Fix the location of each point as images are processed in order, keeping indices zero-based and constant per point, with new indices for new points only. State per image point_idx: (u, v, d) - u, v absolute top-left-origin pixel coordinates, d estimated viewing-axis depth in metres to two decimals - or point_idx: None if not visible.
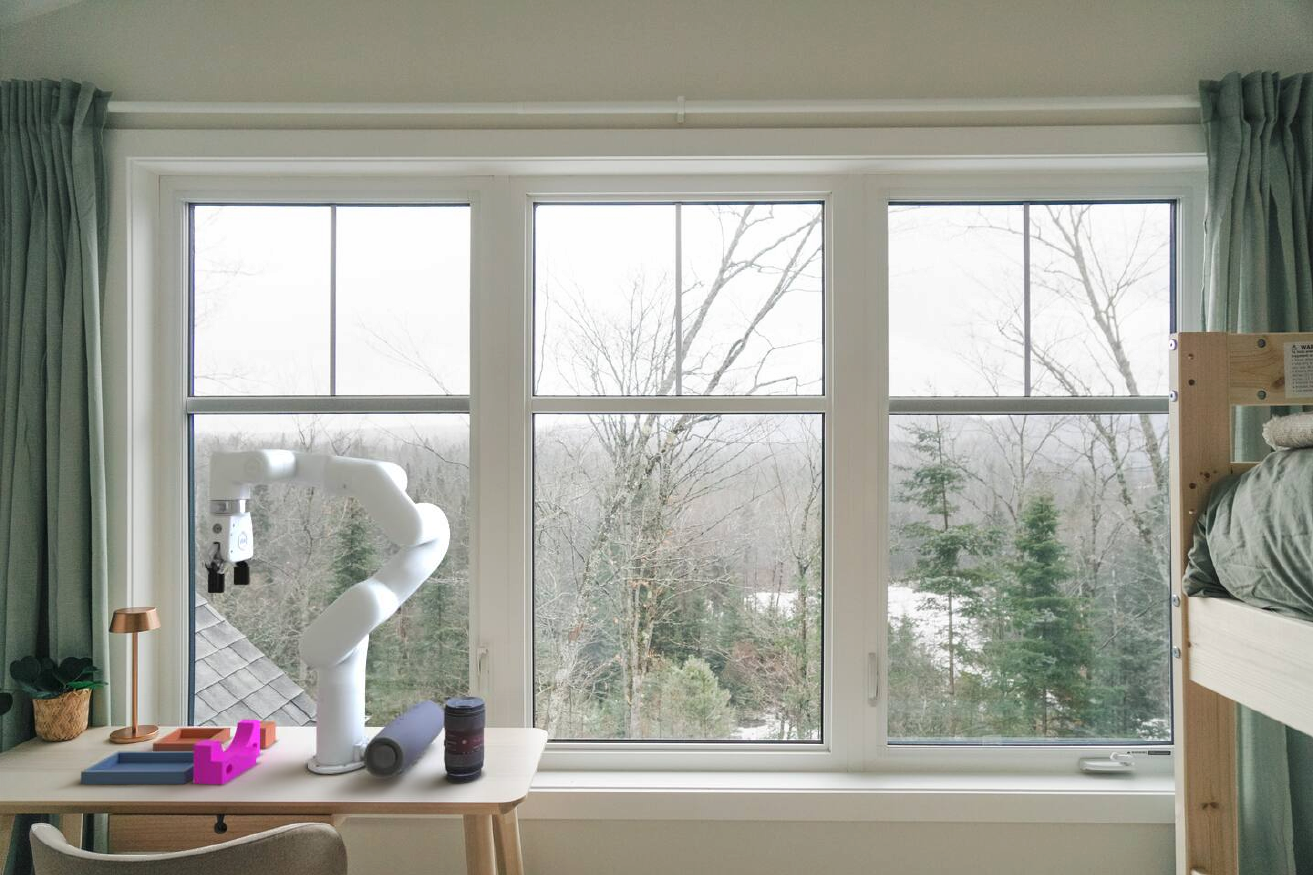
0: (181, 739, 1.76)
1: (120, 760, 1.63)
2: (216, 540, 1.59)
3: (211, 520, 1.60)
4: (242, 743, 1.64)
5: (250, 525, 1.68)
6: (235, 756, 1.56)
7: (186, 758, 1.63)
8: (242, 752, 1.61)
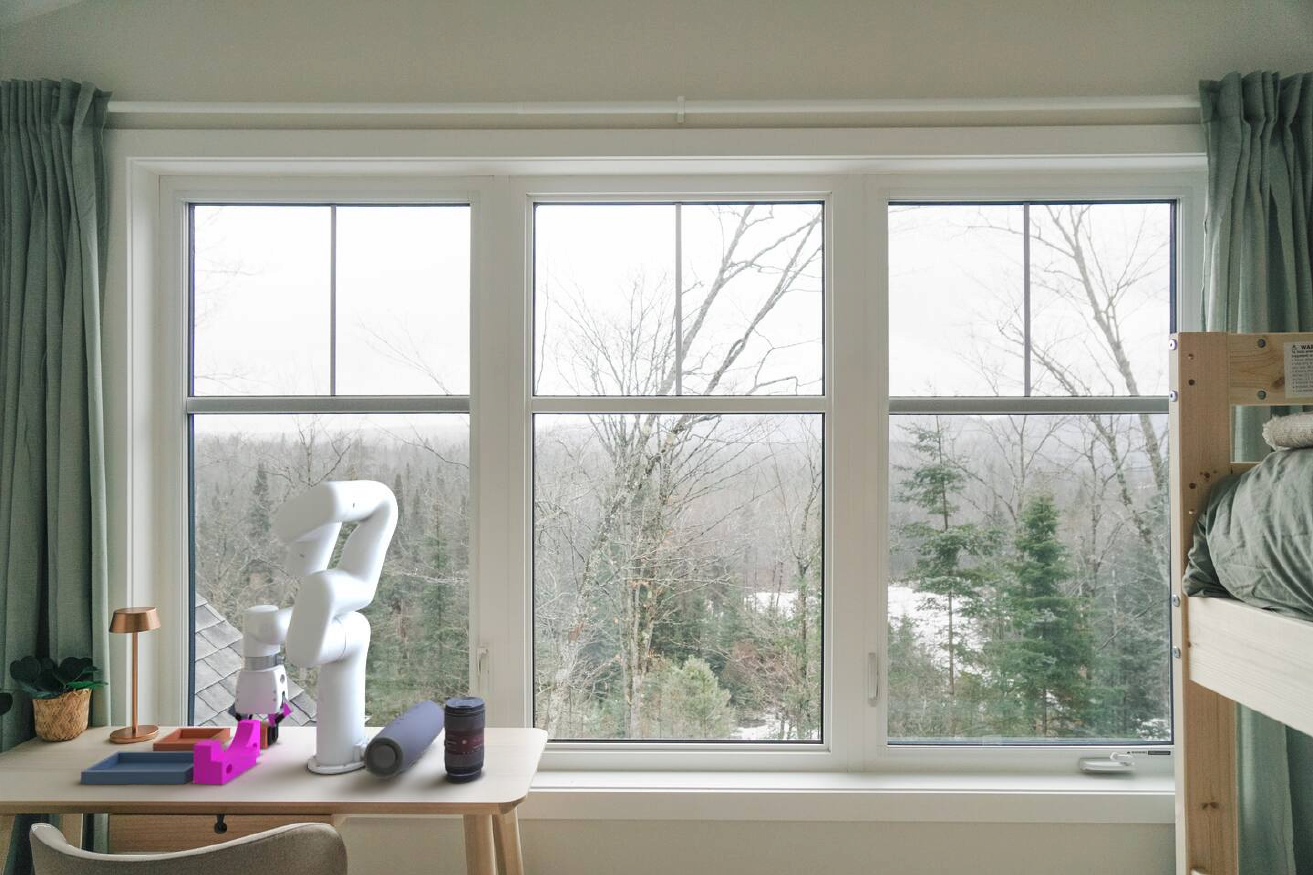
0: (181, 739, 1.76)
1: (120, 760, 1.63)
2: (283, 689, 1.74)
3: (276, 673, 1.72)
4: (242, 743, 1.64)
5: None
6: (235, 756, 1.56)
7: (186, 758, 1.63)
8: (242, 752, 1.61)
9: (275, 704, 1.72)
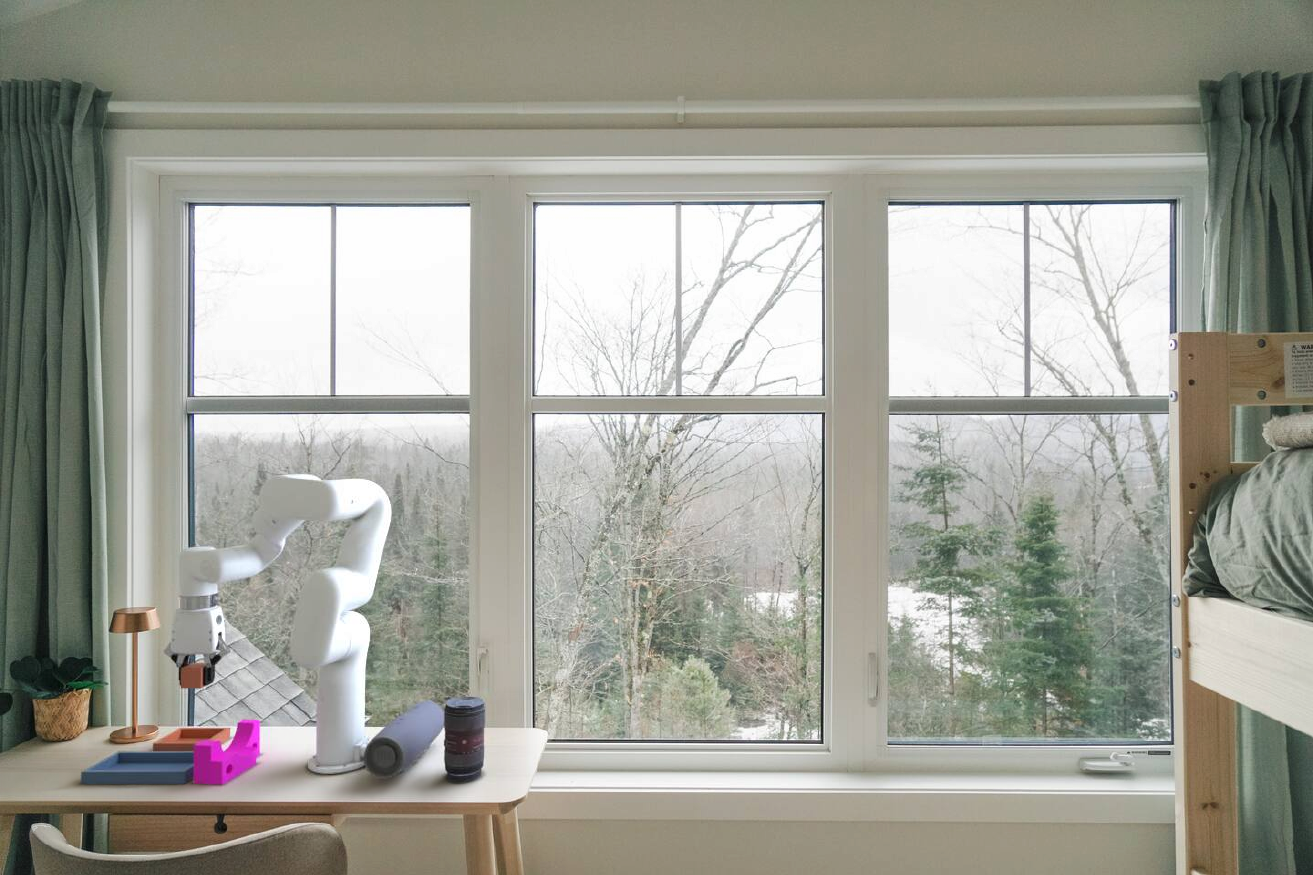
0: (181, 739, 1.76)
1: (120, 760, 1.63)
2: (220, 630, 1.73)
3: (212, 613, 1.72)
4: (242, 743, 1.64)
5: None
6: (235, 756, 1.56)
7: (186, 758, 1.63)
8: (242, 752, 1.61)
9: (211, 644, 1.71)
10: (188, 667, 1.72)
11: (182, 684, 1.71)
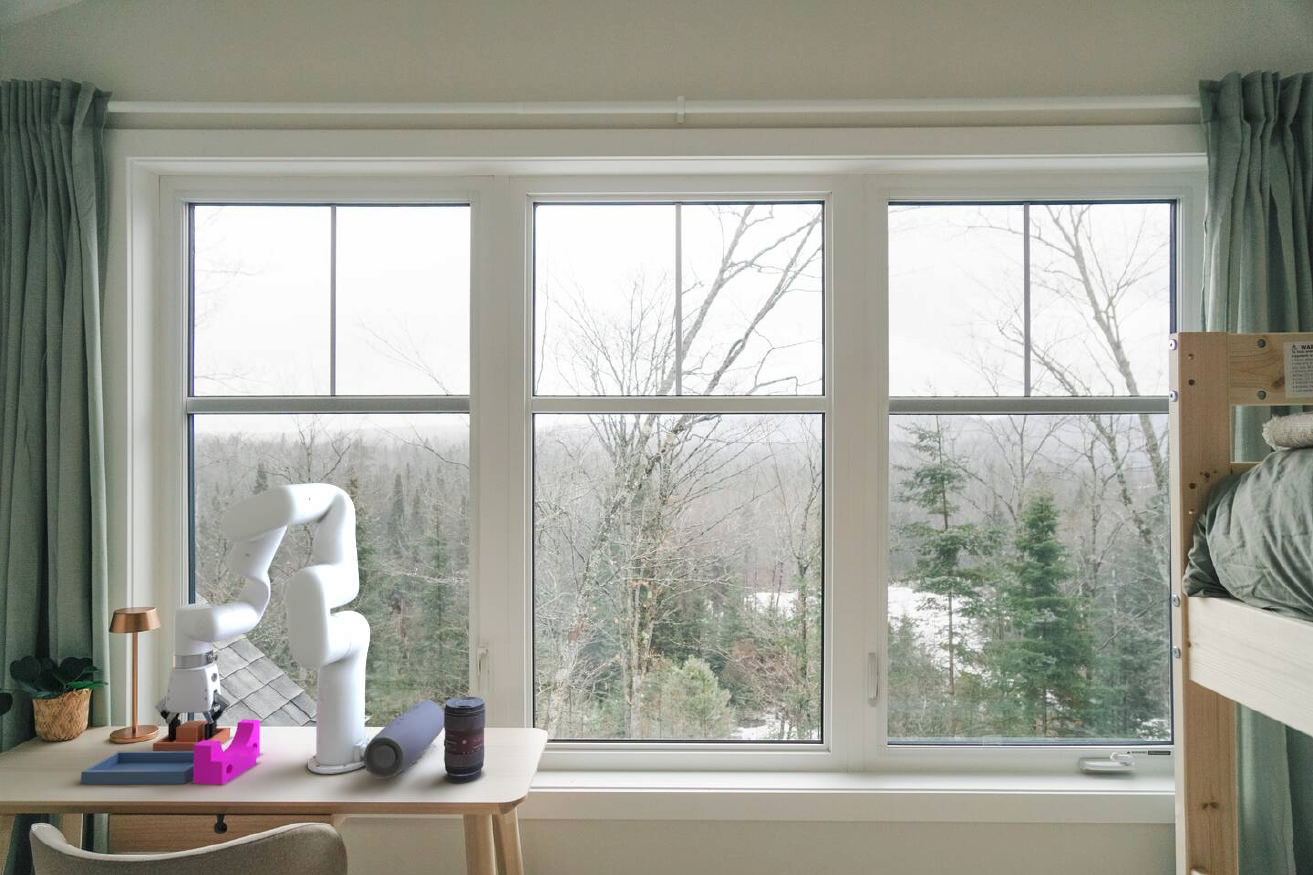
0: None
1: (120, 760, 1.63)
2: (215, 688, 1.73)
3: (208, 672, 1.72)
4: (242, 743, 1.64)
5: None
6: (235, 756, 1.56)
7: (186, 758, 1.63)
8: (242, 752, 1.61)
9: (206, 703, 1.71)
10: (183, 726, 1.71)
11: None
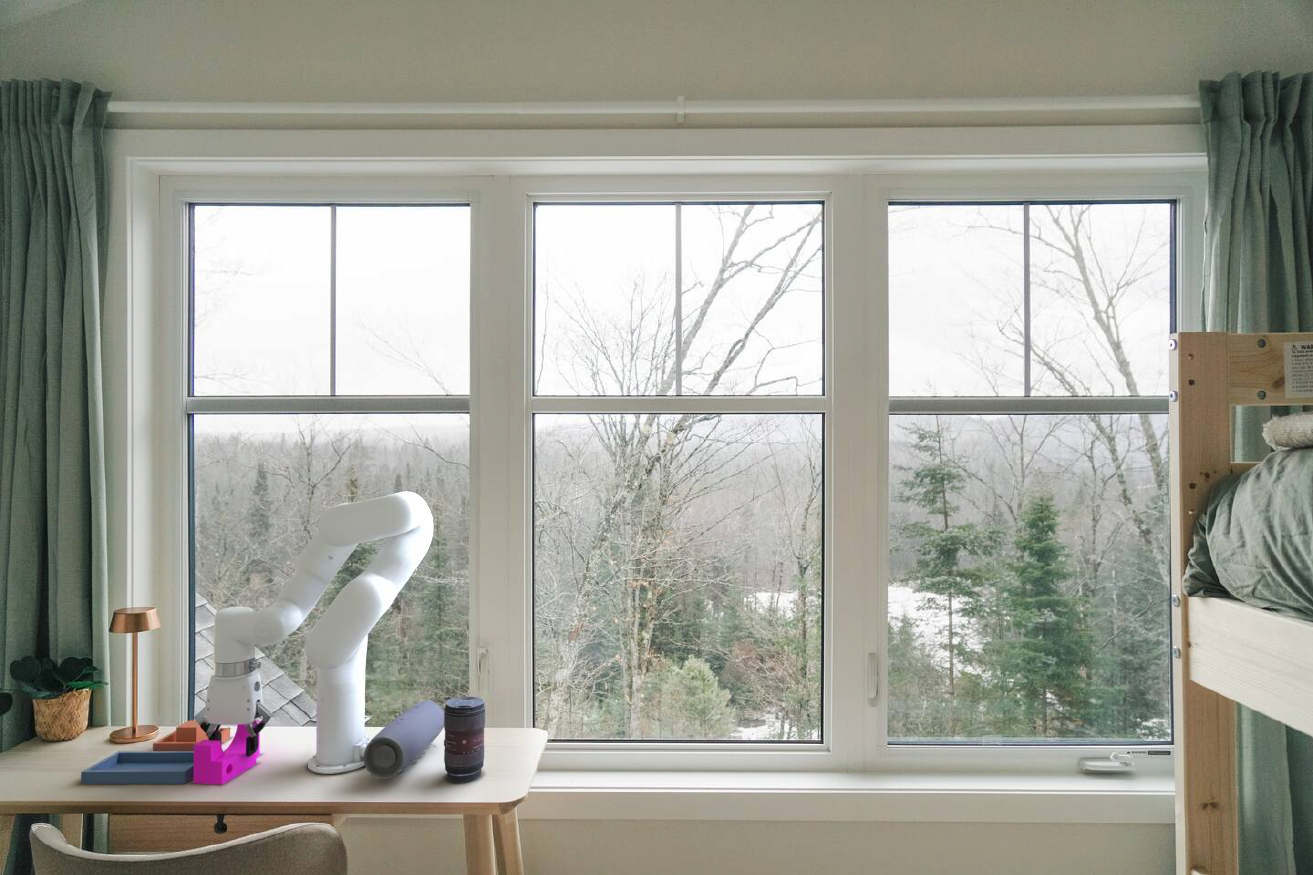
0: None
1: (120, 760, 1.63)
2: (258, 698, 1.61)
3: (250, 680, 1.59)
4: (242, 743, 1.64)
5: None
6: (235, 756, 1.56)
7: (186, 758, 1.63)
8: (242, 752, 1.61)
9: (249, 714, 1.59)
10: (183, 726, 1.71)
11: None
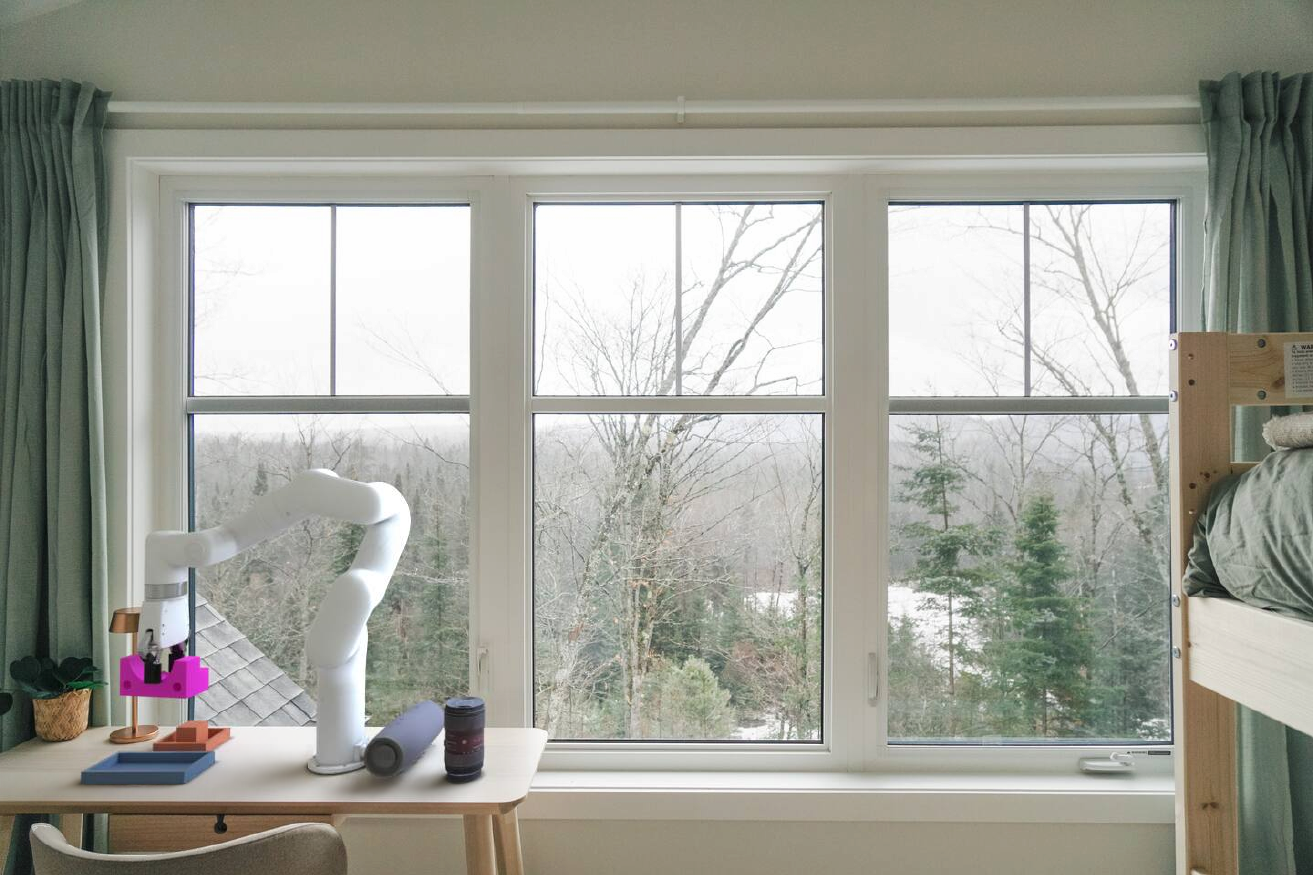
0: None
1: (120, 760, 1.63)
2: None
3: None
4: None
5: None
6: None
7: (186, 758, 1.63)
8: (165, 676, 1.60)
9: (187, 630, 1.63)
10: (183, 726, 1.71)
11: None
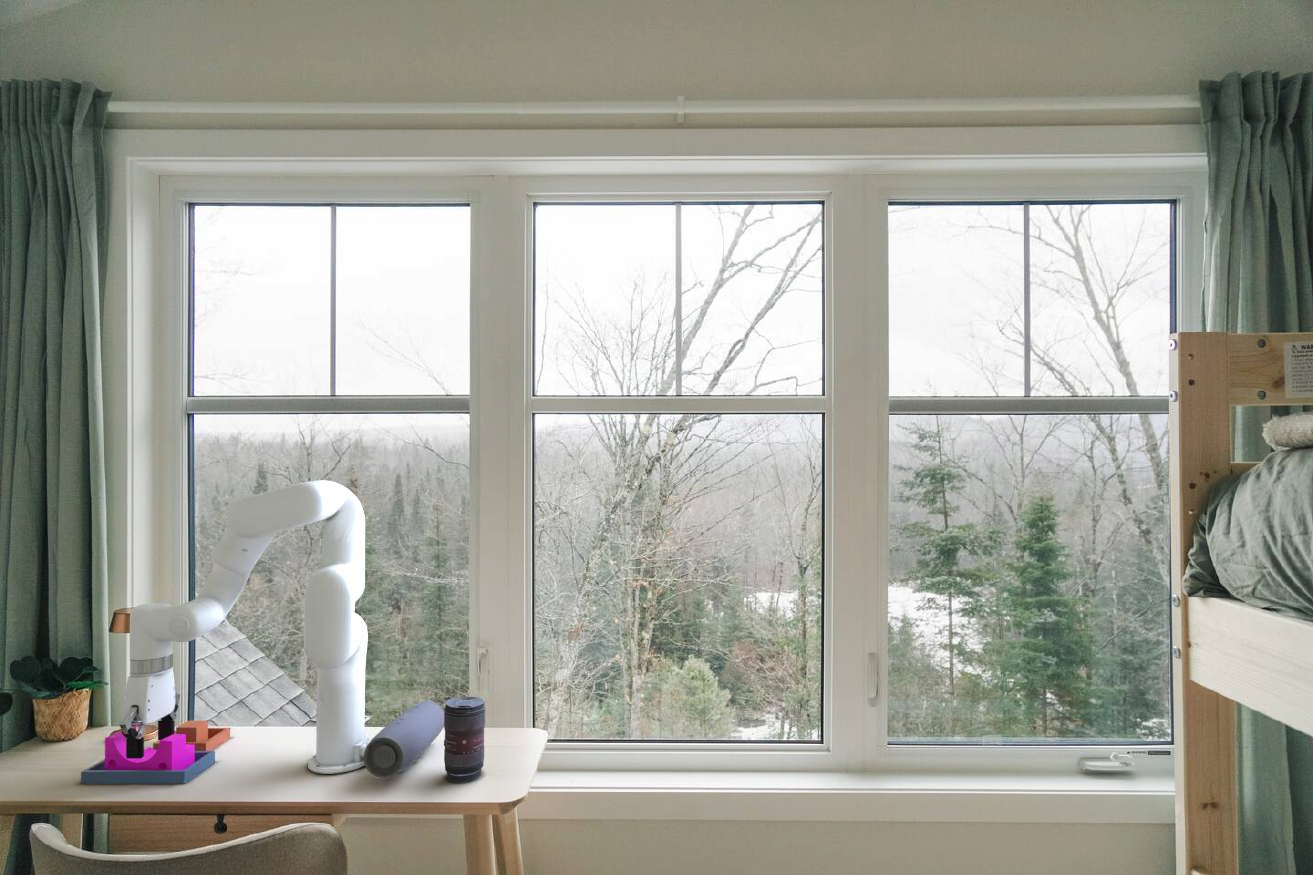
0: None
1: None
2: None
3: None
4: None
5: None
6: None
7: None
8: (150, 753, 1.60)
9: (173, 702, 1.63)
10: (183, 726, 1.71)
11: None
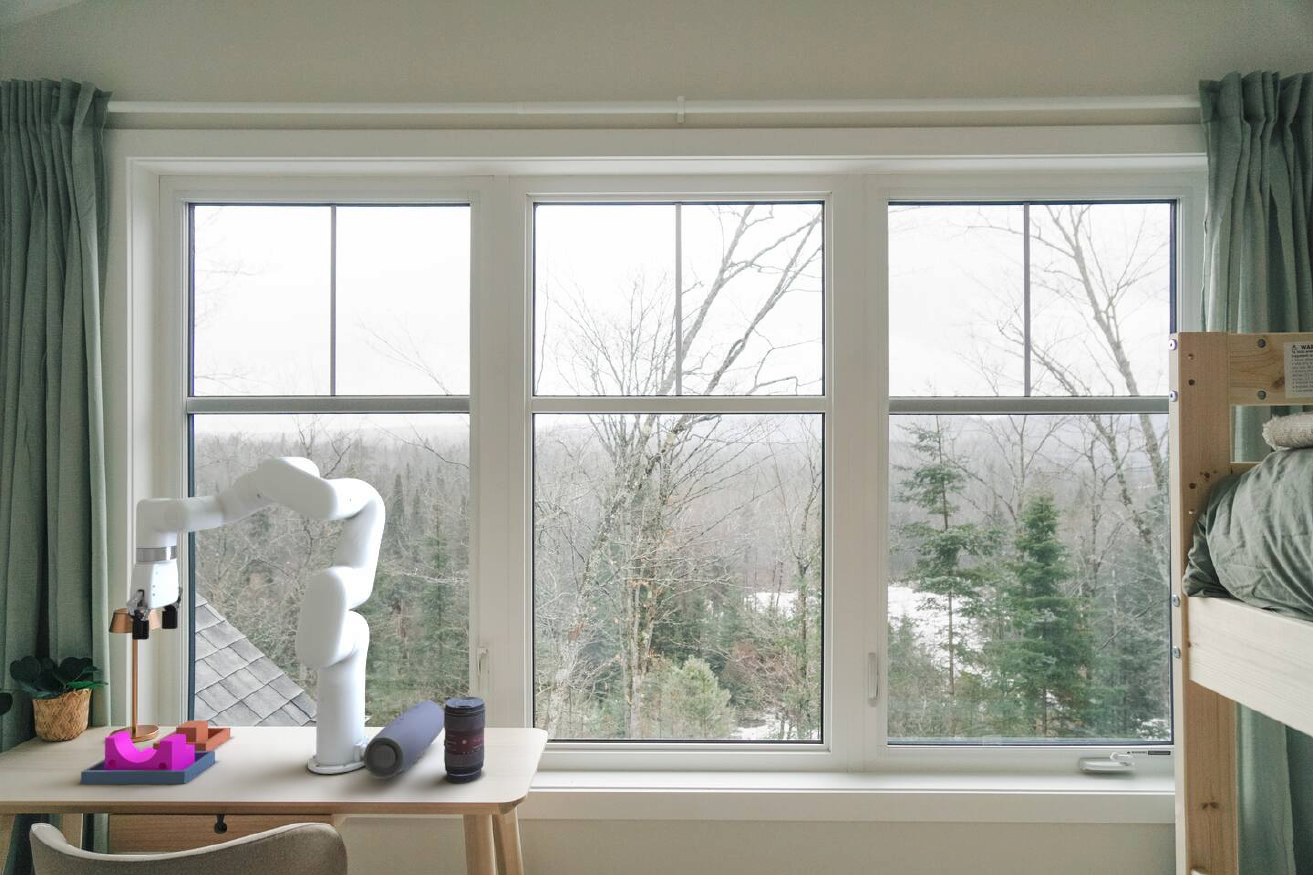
0: None
1: None
2: None
3: None
4: (133, 751, 1.58)
5: None
6: None
7: None
8: (150, 753, 1.60)
9: (176, 592, 1.72)
10: (183, 726, 1.71)
11: None
